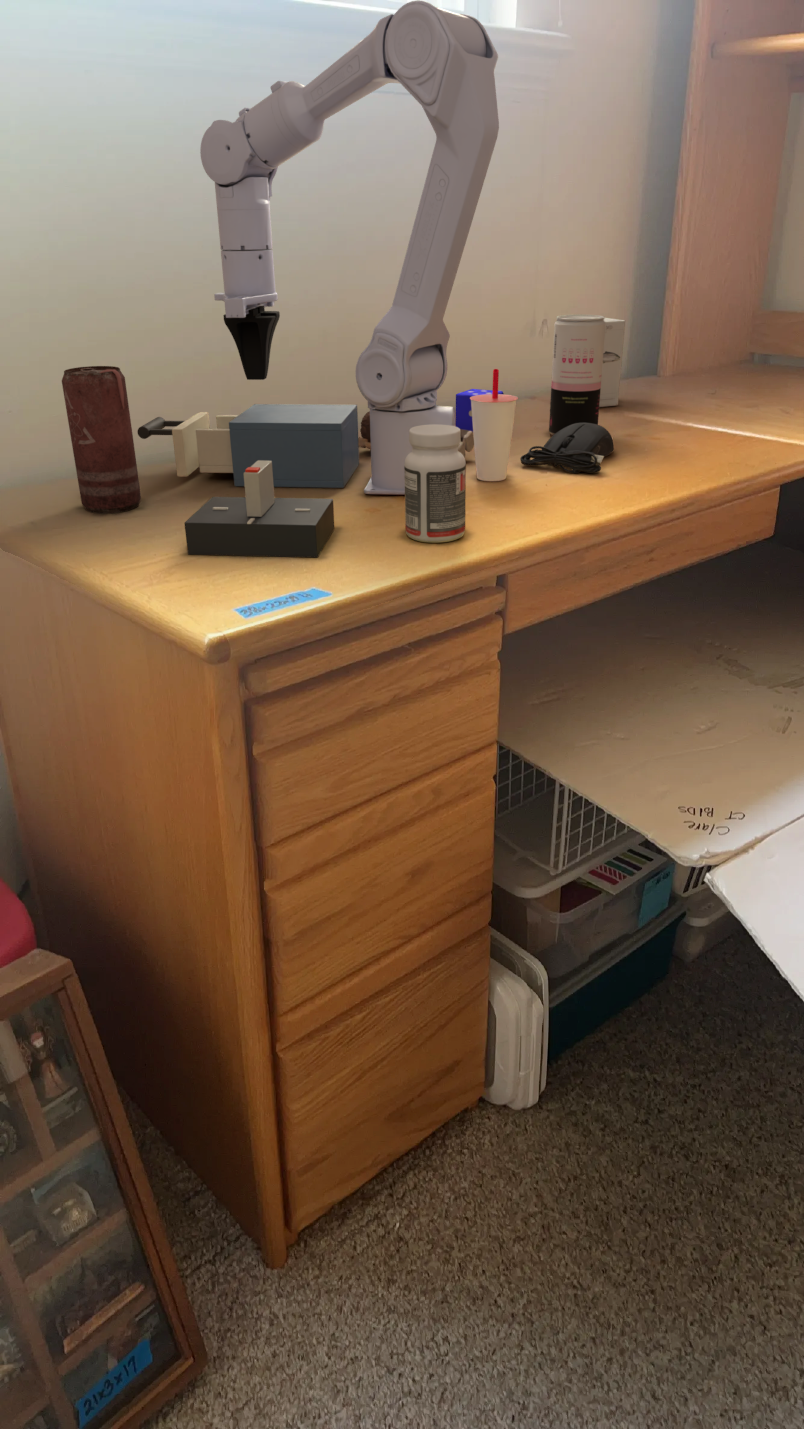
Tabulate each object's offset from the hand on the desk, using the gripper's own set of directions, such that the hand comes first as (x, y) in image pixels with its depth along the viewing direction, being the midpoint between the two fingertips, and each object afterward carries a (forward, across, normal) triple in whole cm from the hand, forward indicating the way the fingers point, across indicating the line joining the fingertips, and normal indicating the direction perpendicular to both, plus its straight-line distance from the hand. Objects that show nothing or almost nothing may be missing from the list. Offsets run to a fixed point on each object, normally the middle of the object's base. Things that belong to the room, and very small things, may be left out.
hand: (256, 378), depth 114 cm
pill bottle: (+11, +26, +23) cm, 36 cm away
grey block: (+7, +29, +7) cm, 31 cm away
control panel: (+10, +29, +7) cm, 32 cm away
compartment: (+10, +3, +5) cm, 12 cm away
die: (+11, -25, +25) cm, 37 cm away
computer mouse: (+11, -7, +38) cm, 40 cm away
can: (+11, +18, -12) cm, 24 cm away
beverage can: (+11, -22, +38) cm, 45 cm away
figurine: (+11, -9, +18) cm, 23 cm away
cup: (+11, +3, +28) cm, 30 cm away
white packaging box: (+11, -45, +41) cm, 62 cm away
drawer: (+10, +3, -5) cm, 11 cm away
